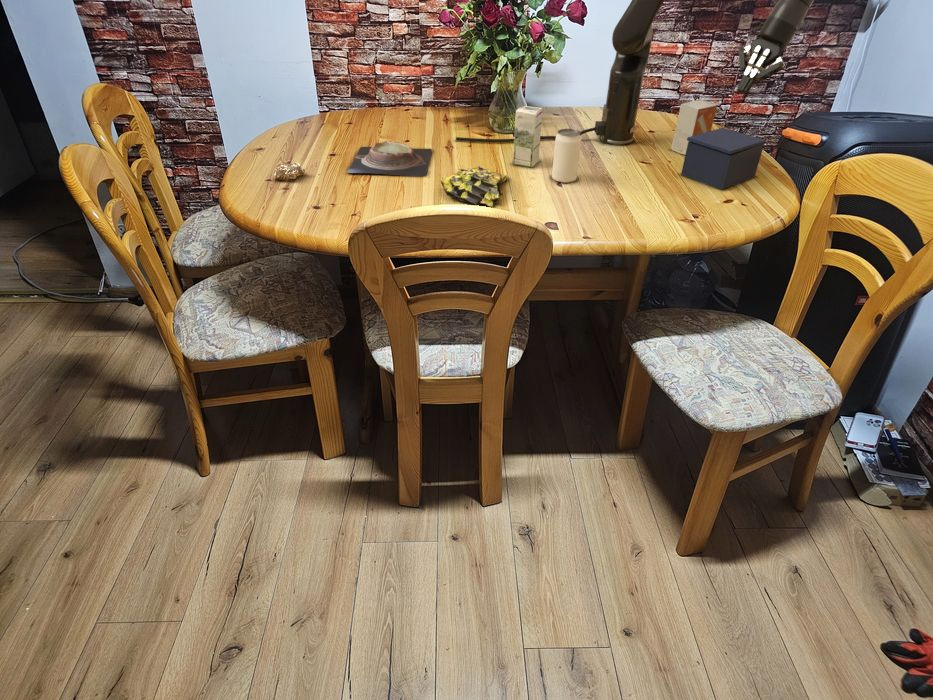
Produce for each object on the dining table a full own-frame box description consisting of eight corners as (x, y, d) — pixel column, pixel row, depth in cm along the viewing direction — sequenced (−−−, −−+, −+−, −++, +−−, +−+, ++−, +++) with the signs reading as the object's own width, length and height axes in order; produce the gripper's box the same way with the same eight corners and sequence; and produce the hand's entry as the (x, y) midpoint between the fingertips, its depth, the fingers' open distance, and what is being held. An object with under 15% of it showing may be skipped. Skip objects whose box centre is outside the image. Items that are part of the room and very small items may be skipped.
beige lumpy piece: (280, 185, 156) (277, 171, 154) (271, 177, 161) (268, 163, 159) (310, 179, 160) (308, 165, 158) (300, 171, 164) (298, 157, 162)
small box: (687, 156, 175) (698, 109, 167) (670, 150, 179) (680, 103, 171) (706, 151, 179) (718, 104, 171) (689, 145, 183) (699, 99, 175)
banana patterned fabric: (468, 173, 166) (476, 150, 163) (519, 201, 163) (529, 178, 159) (430, 187, 151) (437, 162, 147) (486, 218, 147) (495, 193, 143)
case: (722, 190, 156) (731, 155, 151) (680, 174, 164) (688, 141, 159) (754, 176, 164) (764, 143, 158) (713, 162, 171) (721, 130, 166)
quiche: (346, 174, 163) (344, 159, 160) (360, 148, 179) (359, 134, 176) (425, 176, 162) (424, 161, 160) (432, 149, 178) (432, 135, 176)
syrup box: (539, 161, 171) (543, 107, 163) (531, 168, 167) (535, 113, 158) (519, 158, 173) (523, 104, 164) (512, 165, 169) (515, 110, 160)
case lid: (730, 154, 150) (731, 151, 150) (686, 140, 158) (687, 137, 158) (764, 143, 158) (765, 140, 158) (721, 130, 166) (722, 127, 166)
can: (560, 185, 158) (565, 137, 151) (546, 176, 163) (551, 130, 155) (581, 180, 161) (587, 134, 153) (567, 172, 165) (572, 126, 158)
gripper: (754, 8, 150) (713, 79, 158) (803, 24, 143) (757, 98, 150) (765, 19, 156) (724, 87, 163) (812, 35, 149) (768, 106, 156)
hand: (740, 92), depth 157 cm, fingers closed
